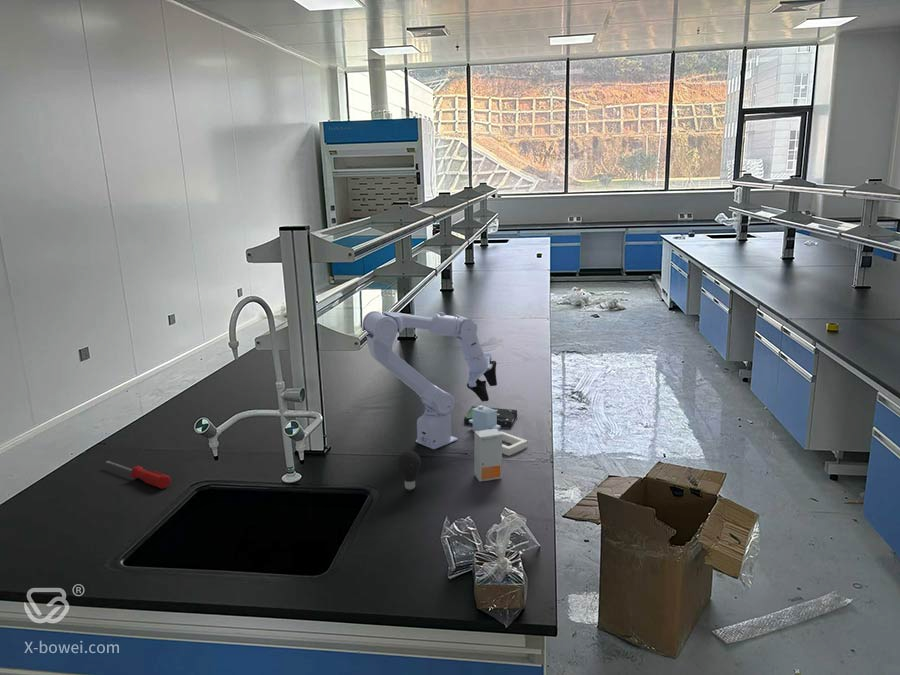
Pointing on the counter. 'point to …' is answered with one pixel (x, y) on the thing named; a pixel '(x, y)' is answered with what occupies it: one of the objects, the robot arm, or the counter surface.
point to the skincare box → (488, 455)
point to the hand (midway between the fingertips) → (489, 392)
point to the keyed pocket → (517, 444)
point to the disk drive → (503, 417)
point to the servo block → (484, 419)
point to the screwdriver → (148, 476)
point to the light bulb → (409, 467)
